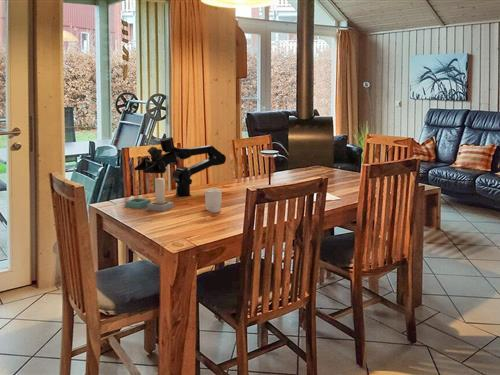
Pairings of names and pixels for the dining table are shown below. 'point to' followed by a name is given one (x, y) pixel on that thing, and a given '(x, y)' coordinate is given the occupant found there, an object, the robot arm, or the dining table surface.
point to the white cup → (213, 199)
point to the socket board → (148, 205)
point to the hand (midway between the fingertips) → (138, 170)
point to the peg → (160, 191)
